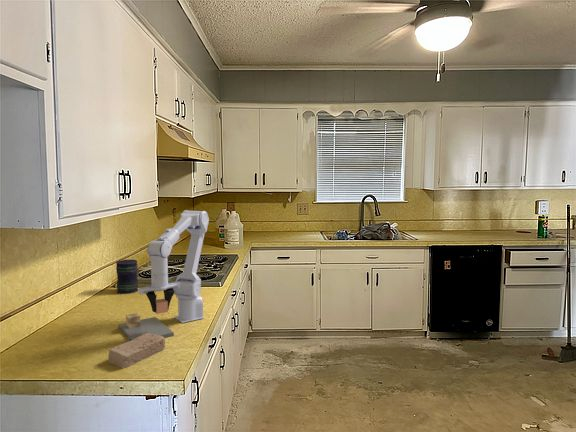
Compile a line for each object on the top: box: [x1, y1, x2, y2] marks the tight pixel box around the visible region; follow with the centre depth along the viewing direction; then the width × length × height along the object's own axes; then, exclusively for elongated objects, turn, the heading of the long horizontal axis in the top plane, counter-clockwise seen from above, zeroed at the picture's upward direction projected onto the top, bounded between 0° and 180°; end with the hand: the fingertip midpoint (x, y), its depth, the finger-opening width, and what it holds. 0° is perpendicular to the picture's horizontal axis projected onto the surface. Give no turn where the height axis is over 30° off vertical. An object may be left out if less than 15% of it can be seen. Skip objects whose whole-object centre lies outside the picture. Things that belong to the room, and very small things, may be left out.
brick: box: [107, 333, 166, 369], centre depth 134 cm, size 17×8×5 cm, turn 150°
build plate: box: [118, 316, 175, 341], centre depth 154 cm, size 14×20×1 cm
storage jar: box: [115, 259, 139, 295], centre depth 205 cm, size 10×10×15 cm
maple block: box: [125, 312, 141, 329], centre depth 156 cm, size 4×4×4 cm
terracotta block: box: [154, 298, 169, 315], centre depth 151 cm, size 4×4×4 cm
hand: (160, 310), depth 151 cm, fingers closed on terracotta block, 4 cm apart
